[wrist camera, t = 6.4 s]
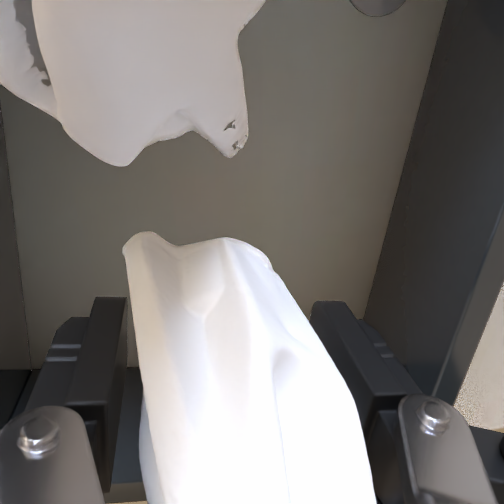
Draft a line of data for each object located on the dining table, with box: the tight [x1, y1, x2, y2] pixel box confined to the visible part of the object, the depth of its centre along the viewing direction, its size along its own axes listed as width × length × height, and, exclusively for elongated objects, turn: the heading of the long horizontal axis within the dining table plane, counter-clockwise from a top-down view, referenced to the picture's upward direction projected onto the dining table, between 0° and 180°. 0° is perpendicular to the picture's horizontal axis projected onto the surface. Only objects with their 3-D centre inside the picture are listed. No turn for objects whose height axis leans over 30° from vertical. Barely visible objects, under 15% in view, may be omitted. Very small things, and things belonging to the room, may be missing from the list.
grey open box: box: [0, 0, 504, 504], centre depth 13 cm, size 16×20×6 cm
